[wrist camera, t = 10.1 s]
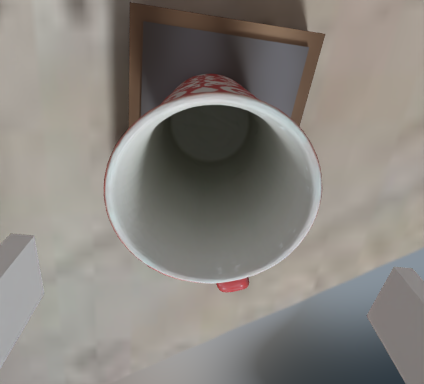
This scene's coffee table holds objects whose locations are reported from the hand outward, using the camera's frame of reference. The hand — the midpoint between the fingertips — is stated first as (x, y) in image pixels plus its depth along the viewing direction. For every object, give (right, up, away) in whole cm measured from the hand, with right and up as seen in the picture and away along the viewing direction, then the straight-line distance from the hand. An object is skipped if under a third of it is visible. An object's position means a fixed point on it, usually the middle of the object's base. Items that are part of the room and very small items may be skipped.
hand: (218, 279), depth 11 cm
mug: (0, +8, +14) cm, 16 cm away
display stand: (0, +10, +18) cm, 20 cm away
